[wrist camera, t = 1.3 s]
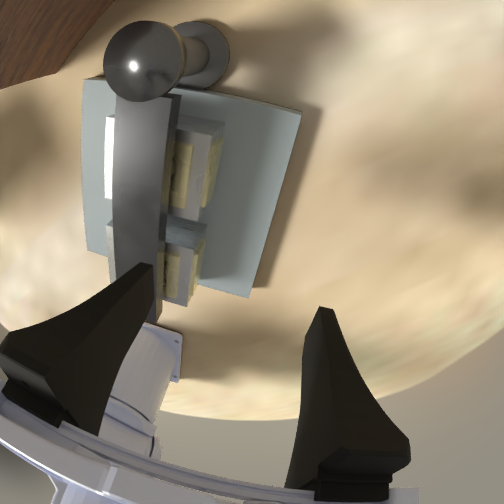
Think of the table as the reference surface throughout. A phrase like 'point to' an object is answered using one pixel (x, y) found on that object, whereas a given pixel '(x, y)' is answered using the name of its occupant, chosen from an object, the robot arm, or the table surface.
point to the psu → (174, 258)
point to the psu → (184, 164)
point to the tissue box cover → (42, 35)
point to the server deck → (230, 165)
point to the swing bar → (143, 142)
